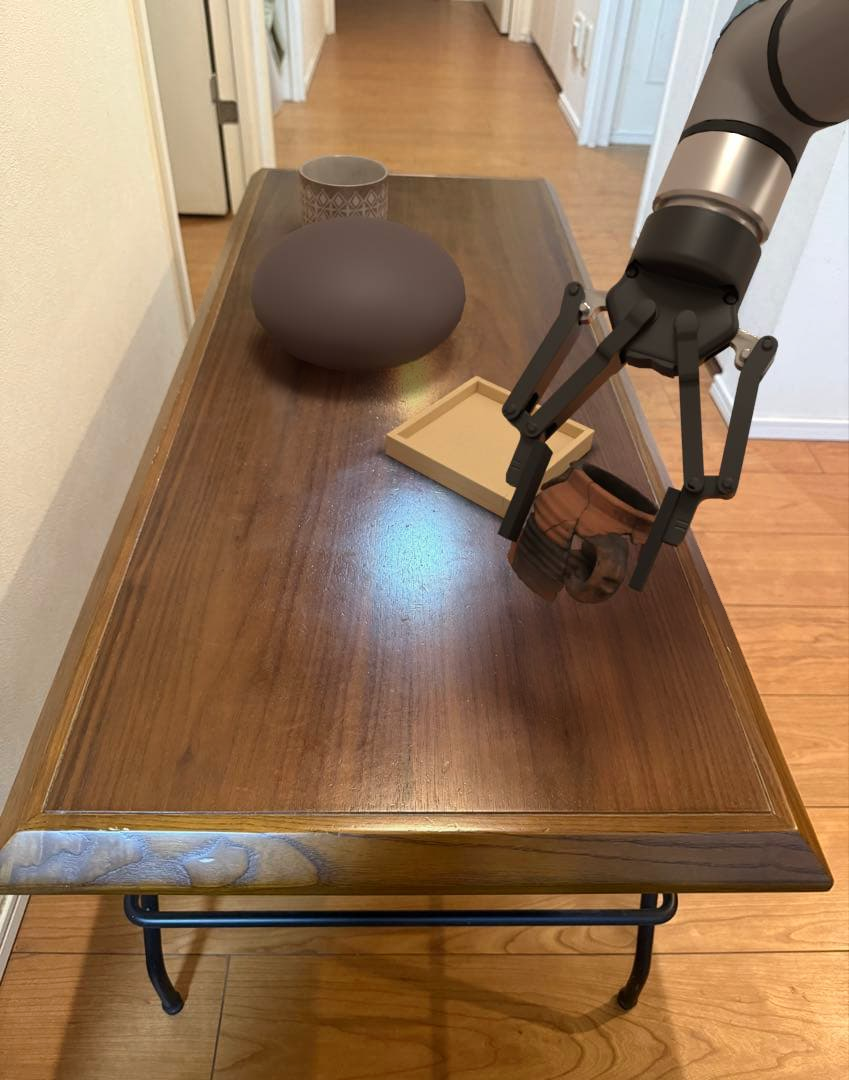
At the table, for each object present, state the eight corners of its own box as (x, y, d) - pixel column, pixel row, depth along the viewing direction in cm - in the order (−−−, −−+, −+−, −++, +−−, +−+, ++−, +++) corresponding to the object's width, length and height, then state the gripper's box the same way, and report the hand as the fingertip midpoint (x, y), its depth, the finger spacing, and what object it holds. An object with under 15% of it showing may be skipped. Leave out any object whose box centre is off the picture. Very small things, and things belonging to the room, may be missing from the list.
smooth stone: (236, 316, 107) (223, 198, 97) (419, 292, 114) (424, 180, 104) (284, 422, 90) (274, 293, 80) (493, 386, 97) (508, 264, 87)
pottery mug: (487, 530, 61) (546, 435, 58) (591, 577, 64) (653, 489, 61) (521, 621, 51) (595, 511, 48) (644, 672, 53) (722, 571, 50)
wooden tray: (590, 449, 89) (594, 430, 88) (507, 520, 80) (510, 500, 78) (474, 394, 96) (476, 375, 94) (385, 453, 87) (385, 434, 85)
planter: (285, 235, 125) (281, 164, 118) (353, 217, 132) (353, 148, 125) (335, 266, 118) (333, 192, 111) (404, 245, 125) (406, 174, 118)
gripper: (866, 297, 53) (730, 628, 53) (561, 220, 60) (441, 514, 60) (893, 244, 46) (735, 627, 46) (543, 164, 53) (407, 497, 53)
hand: (569, 562), depth 53 cm, fingers closed on pottery mug, 8 cm apart
